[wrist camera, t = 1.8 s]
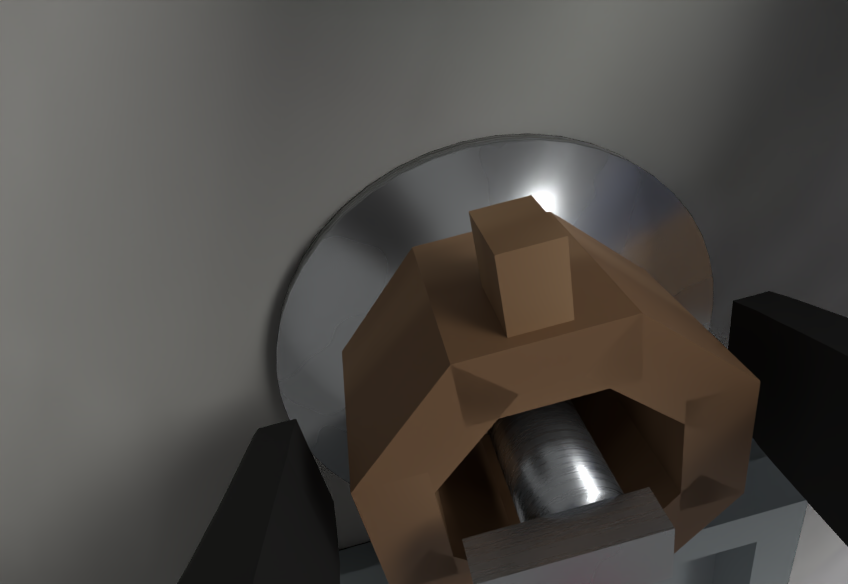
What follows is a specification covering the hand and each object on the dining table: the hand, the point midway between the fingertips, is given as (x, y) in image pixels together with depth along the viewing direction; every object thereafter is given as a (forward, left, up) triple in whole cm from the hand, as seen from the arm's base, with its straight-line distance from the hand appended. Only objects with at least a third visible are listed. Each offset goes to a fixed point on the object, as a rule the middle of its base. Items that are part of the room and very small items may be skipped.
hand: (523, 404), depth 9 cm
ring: (0, 0, -1) cm, 1 cm away
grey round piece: (0, 0, -2) cm, 2 cm away
